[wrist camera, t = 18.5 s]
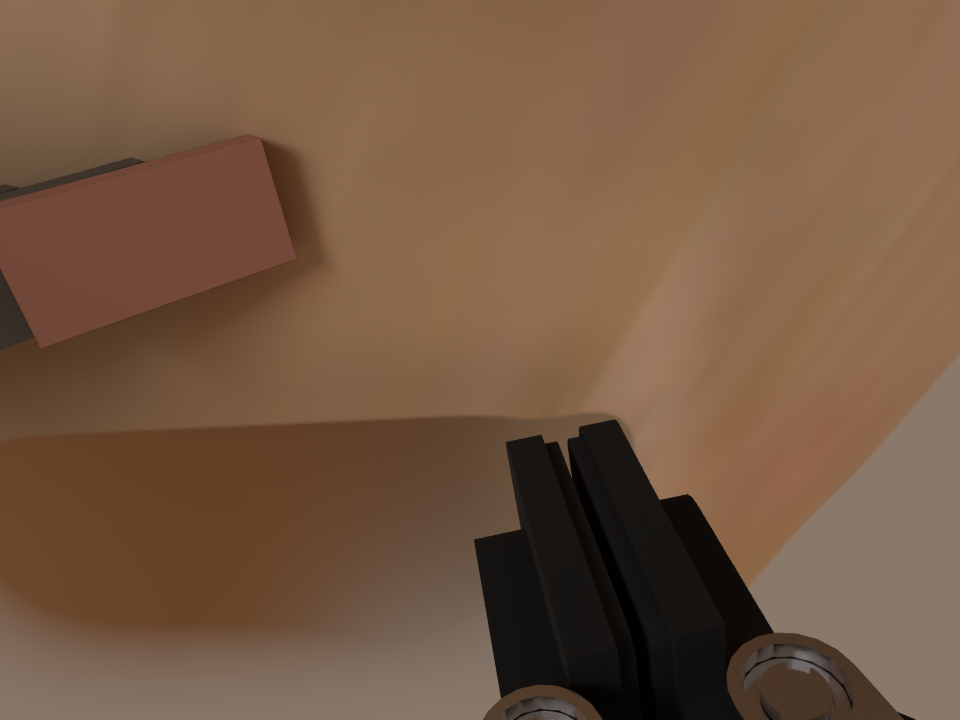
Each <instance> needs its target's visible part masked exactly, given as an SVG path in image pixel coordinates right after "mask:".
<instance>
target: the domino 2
mask: <svg viewBox="0 0 960 720" xmlns="http://www.w3.org/2000/svg"><path fill="white" fill-rule="evenodd" d="M294 259H297V258H296V255H295V252H294V248H293V245H292V242H291V238H290V235H289V232H288V228H287V225H286V222H285V218H284V215H283V212H282V208H281V205H280V202H279V198H278V195H277V192H276V188H275V185H274V182H273V178H272V175H271V172H270V168H269V165H268V162H267V158H266V155H265V152H264V148H263V145H262V141H261V138H258V137H255V136H252V135H245V136H241V137H237V138H233V139H230V140H226V141H222V142H219V143H215V144H211V145H207V146H204V147H200V148H196V149H193V150H189V151H185V152H182V153H178V154H174V155H170V156H167V157H163V158H159V159H156V160H152V161H148V162H145V163H141V164H137V165H133V166H130V167H126V168H122V169H119V170H115V171H111V172H108V173H104V174H100V175H96V176H93V177H89V178H85V179H82V180H78V181H74V182H71V183H67V184H63V185H59V186H56V187H52V188H48V189H45V190H41V191H37V192H34V193H30V194H26V195H22V196H19V197H15V198H11V199H8V200H4V201H0V269H1V271H2V273H3V275H4V277H5V279H6V281H7V283H8V285H9V287H10V289H11V291H12V293H13V294H14V296H15V298H16V300H17V302H18V304H19V306H20V308H21V310H22V312H23V314H24V316H25V318H26V320H27V322H28V324H29V326H30V328H31V330H32V332H33V334H34V336H35V338H36V340H37V342H38V344H39V346H40V348H43V347H46V346H49V345H52V344H55V343H58V342H61V341H63V340H66V339H69V338H72V337H75V336H78V335H80V334H83V333H86V332H89V331H92V330H95V329H98V328H100V327H103V326H106V325H109V324H112V323H115V322H118V321H120V320H123V319H126V318H129V317H132V316H135V315H138V314H140V313H143V312H146V311H149V310H152V309H155V308H158V307H160V306H163V305H166V304H169V303H172V302H175V301H178V300H180V299H183V298H186V297H189V296H192V295H195V294H197V293H200V292H203V291H206V290H209V289H212V288H215V287H217V286H220V285H223V284H226V283H229V282H232V281H235V280H237V279H240V278H243V277H246V276H249V275H252V274H255V273H257V272H260V271H263V270H266V269H269V268H272V267H275V266H277V265H280V264H283V263H286V262H289V261H292V260H294Z"/></svg>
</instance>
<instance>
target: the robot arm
mask: <svg viewBox="0 0 960 720" xmlns="http://www.w3.org/2000/svg"><path fill="white" fill-rule="evenodd" d="M506 447H507V454H508V460H509V465H510V471H511V476H512V482H513V488H514V493H515V499H516V504H517V510H518V515H519V520H520V526H521V530H517V531H512V532H507V533H503V534H498V535H493V536H489V537H484V538H479V539H475V540H474V542H475V549H476V555H477V561H478V566H479V572H480V578H481V584H482V590H483V596H484V601H485V607H486V613H487V619H488V625H489V631H490V636H491V642H492V648H493V654H494V660H495V666H496V671H497V677H498V683H499V689H500V695H501V699H500V700H499V701H498V702H497V703H496V704H495V705H494V706H493V707H492V708H491V709H490V710H489V711H488V712H487V714H486V715H485V717H484V719H483V720H915V719H913V718H910V717H908V716H906V715H903V714H901V713H899V712H897V711H896V710H895V709H894V708H893V707H892V706H891V705H890V704H889V702H888V701H887V700H886V699H885V698H884V697H883V696H882V695H881V694H880V692H879V691H878V690H877V689H876V688H875V687H874V686H873V685H872V683H871V682H870V681H869V680H868V679H867V678H866V677H865V676H864V675H863V673H862V672H861V671H860V670H859V669H858V668H857V667H856V666H855V665H854V664H853V663H852V662H851V661H850V660H849V659H848V658H847V657H845V656H844V655H843V654H842V653H841V652H839V651H838V650H837V649H835V648H833V647H831V646H829V645H828V644H825V643H824V642H822V641H820V640H818V639H815V638H811V637H807V636H804V635H800V634H794V633H774V632H773V630H772V629H771V627H770V625H769V624H768V622H767V620H766V619H765V617H764V615H763V614H762V612H761V610H760V609H759V607H758V605H757V604H756V602H755V600H754V598H753V597H752V595H751V594H750V592H749V590H748V588H747V587H746V585H745V583H744V582H743V580H742V578H741V577H740V575H739V573H738V572H737V570H736V568H735V567H734V565H733V563H732V562H731V560H730V558H729V557H728V555H727V553H726V552H725V550H724V548H723V547H722V545H721V543H720V542H719V540H718V538H717V537H716V535H715V533H714V532H713V530H712V528H711V527H710V525H709V523H708V522H707V520H706V518H705V517H704V515H703V513H702V512H701V510H700V508H699V506H698V505H697V503H696V502H695V501H694V499H693V498H692V497H691V496H690V495H688V494H686V495H681V496H677V497H672V498H667V499H662V500H659V498H658V497H657V495H656V493H655V491H654V489H653V487H652V485H651V483H650V481H649V480H648V478H647V476H646V474H645V472H644V470H643V468H642V466H641V465H640V463H639V461H638V459H637V457H636V455H635V453H634V451H633V450H632V448H631V446H630V444H629V442H628V440H627V438H626V436H625V435H624V433H623V431H622V429H621V427H620V425H619V423H618V422H617V421H616V420H615V419H614V420H609V421H604V422H600V423H595V424H590V425H585V426H580V427H579V437H575V438H570V439H568V451H569V459H570V467H571V474H572V478H571V475H570V473H569V470H568V467H567V465H566V462H565V459H564V457H563V454H562V452H561V450H560V446H559V444H558V442H551V443H547V444H545V443H544V440H543V438H542V436H541V435H537V436H533V437H528V438H523V439H518V440H514V441H509V442H506Z"/></svg>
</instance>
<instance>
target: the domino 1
mask: <svg viewBox="0 0 960 720" xmlns="http://www.w3.org/2000/svg"><path fill="white" fill-rule="evenodd" d="M141 163H142V161H139V160H136V159H134V158H128V159H125V160H121V161H118V162H114V163H110V164H107V165H103V166H100V167H96V168H92V169H89V170H85V171H82V172H78V173H75V174H71V175H67V176H64V177H60V178H57V179H53V180H49V181H46V182H42V183H39V184H35V185H31V186H28V187H24V188H21V189H17V190H13V191H10V192H6V193H3V194H0V201H4V200H8V199H11V198H15V197H19V196H22V195H26V194H30V193H34V192H37V191H41V190H45V189H48V188H52V187H56V186H59V185H63V184H67V183H71V182H74V181H78V180H82V179H85V178H89V177H93V176H96V175H100V174H104V173H108V172H111V171H115V170H119V169H122V168H126V167H130V166H133V165H137V164H141ZM32 337H35V336H34V334H33V332H32V330H31V328H30V326H29V324H28V322H27V320H26V318H25V316H24V314H23V312H22V310H21V308H20V306H19V304H18V302H17V300H16V298H15V296H14V294H13V293H12V291H11V289H10V287H9V285H8V283H7V281H6V279H5V277H4V275H3V273H2V271H1V269H0V349H2V348H5V347H8V346H10V345H13V344H16V343H19V342H21V341H24V340H27V339H30V338H32Z"/></svg>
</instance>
